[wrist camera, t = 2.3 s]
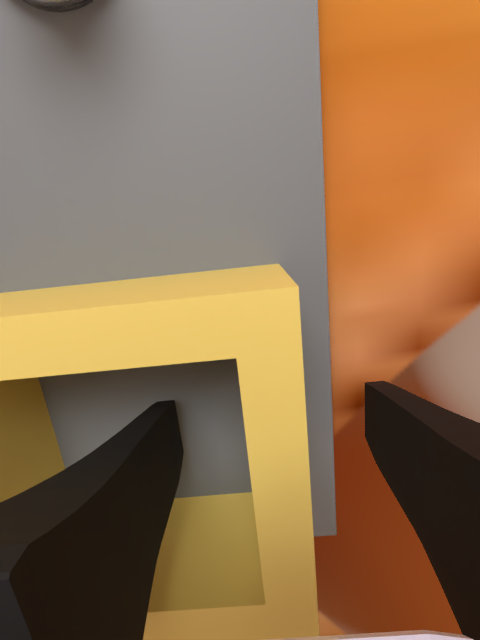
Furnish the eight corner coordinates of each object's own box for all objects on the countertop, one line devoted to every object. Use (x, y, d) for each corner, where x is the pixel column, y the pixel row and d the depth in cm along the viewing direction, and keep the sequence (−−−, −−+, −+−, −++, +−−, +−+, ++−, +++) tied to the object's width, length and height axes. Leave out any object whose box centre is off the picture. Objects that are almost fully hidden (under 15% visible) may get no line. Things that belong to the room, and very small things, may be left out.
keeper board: (36, 536, 15) (22, 558, 14) (-266, -333, 8) (-337, -410, 7) (330, 513, 14) (336, 534, 14) (291, -438, 7) (298, -538, 6)
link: (51, 536, 14) (-25, 658, 10) (-29, 296, 11) (-177, 335, 7) (297, 517, 13) (319, 637, 9) (278, 263, 11) (298, 286, 7)
